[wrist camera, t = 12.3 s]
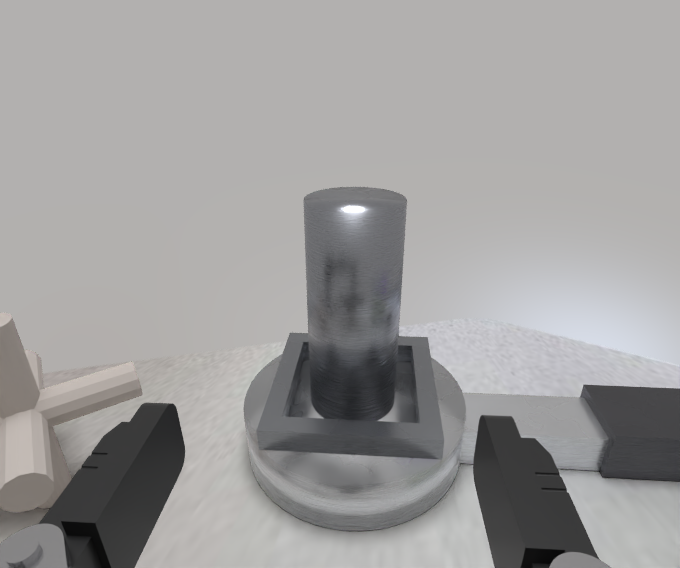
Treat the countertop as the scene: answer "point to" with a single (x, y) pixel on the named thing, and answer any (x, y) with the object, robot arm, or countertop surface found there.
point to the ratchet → (434, 438)
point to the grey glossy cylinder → (354, 299)
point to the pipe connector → (44, 420)
